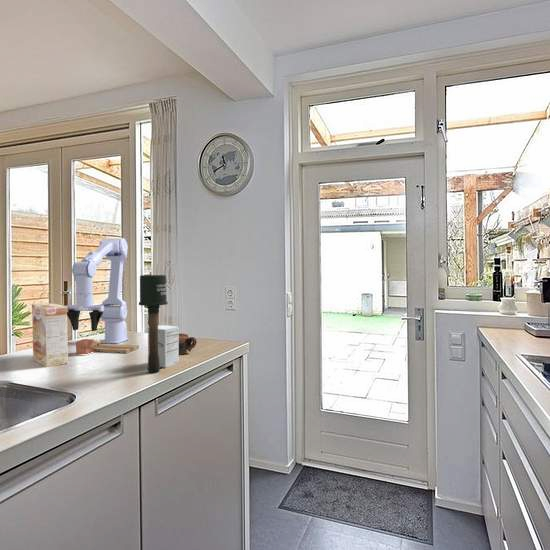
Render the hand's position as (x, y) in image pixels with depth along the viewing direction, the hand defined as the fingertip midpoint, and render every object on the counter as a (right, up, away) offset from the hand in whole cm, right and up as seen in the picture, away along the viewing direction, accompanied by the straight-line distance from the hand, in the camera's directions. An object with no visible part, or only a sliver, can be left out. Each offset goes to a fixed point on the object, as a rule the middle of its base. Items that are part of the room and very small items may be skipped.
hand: (84, 330), depth 153 cm
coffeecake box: (-6, -9, -12) cm, 17 cm away
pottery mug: (+36, -9, +2) cm, 37 cm away
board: (+7, -9, +7) cm, 13 cm away
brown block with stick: (+1, -9, +3) cm, 9 cm away
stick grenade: (+33, -10, -25) cm, 43 cm away
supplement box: (+34, -10, -16) cm, 39 cm away
